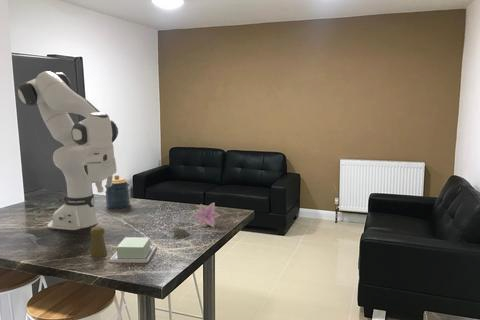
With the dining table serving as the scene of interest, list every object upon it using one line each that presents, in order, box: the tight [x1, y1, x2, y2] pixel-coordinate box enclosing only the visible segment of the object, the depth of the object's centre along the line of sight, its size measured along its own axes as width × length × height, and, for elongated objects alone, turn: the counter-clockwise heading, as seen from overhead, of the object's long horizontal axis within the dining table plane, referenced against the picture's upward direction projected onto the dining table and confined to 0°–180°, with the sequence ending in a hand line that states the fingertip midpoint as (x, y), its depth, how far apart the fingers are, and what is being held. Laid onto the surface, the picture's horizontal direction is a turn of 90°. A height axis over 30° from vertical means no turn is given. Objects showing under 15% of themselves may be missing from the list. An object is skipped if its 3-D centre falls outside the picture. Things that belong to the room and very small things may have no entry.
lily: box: [191, 202, 221, 228], centre depth 187 cm, size 12×12×10 cm
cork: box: [89, 226, 108, 259], centre depth 151 cm, size 6×6×11 cm
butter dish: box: [109, 236, 158, 264], centre depth 151 cm, size 14×14×5 cm
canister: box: [104, 174, 131, 210], centre depth 217 cm, size 13×13×18 cm
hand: (105, 189), depth 153 cm, fingers open, 8 cm apart
